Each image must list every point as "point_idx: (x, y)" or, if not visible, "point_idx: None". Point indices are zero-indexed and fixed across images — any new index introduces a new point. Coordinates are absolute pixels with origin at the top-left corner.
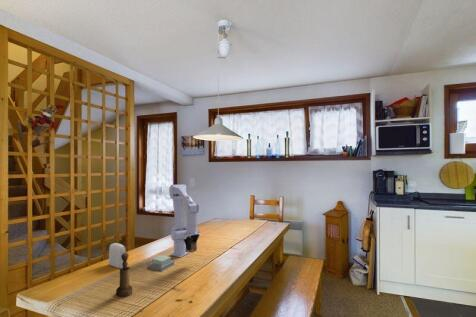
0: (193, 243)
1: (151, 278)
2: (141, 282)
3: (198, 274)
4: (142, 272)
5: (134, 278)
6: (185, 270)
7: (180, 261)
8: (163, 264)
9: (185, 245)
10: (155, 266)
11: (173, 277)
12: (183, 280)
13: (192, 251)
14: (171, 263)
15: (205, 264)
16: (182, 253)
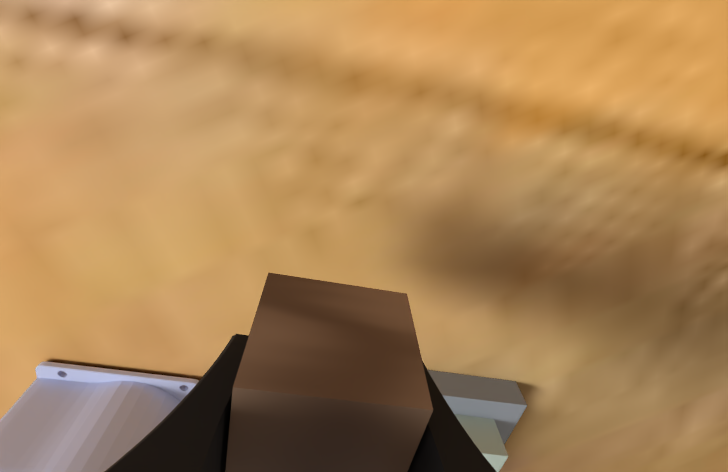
0: (333, 419)
1: (645, 386)
2: (703, 407)
3: (572, 47)
4: (547, 464)
5: (638, 459)
6: (480, 226)
7: None
8: (479, 422)
9: (49, 462)
10: None
11: (638, 261)
12: (713, 152)
13: (399, 304)
14: None
15: (262, 69)
16: (149, 400)
